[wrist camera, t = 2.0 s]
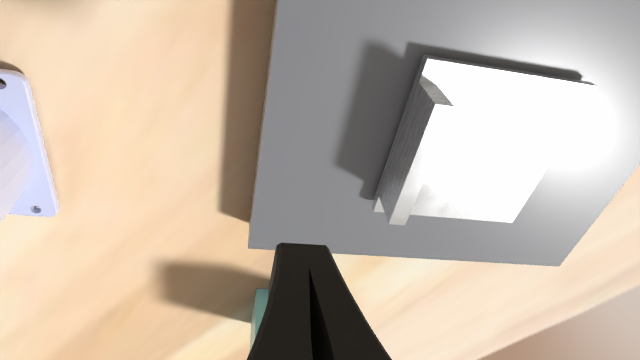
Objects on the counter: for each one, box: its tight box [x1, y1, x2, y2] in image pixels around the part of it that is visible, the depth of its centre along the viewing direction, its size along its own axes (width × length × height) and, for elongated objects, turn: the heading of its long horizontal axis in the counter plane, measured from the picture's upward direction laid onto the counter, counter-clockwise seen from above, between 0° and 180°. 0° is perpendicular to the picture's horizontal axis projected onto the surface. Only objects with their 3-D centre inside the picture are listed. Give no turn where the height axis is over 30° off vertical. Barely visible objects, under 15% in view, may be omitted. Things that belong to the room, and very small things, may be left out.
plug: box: [250, 289, 269, 351], centre depth 26 cm, size 4×4×7 cm
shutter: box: [371, 54, 598, 225], centre depth 18 cm, size 8×8×2 cm
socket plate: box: [248, 0, 640, 266], centre depth 20 cm, size 20×16×2 cm
